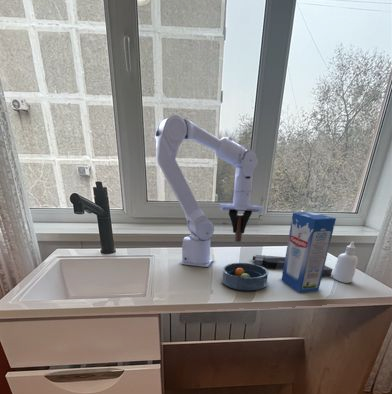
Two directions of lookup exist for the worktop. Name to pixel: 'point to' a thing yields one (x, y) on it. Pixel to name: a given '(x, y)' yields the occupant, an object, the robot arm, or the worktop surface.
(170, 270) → the worktop surface
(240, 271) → the bead
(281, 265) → the pistol
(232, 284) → the bowl
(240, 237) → the stirring stick
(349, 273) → the eye dropper bottle
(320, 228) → the milk carton
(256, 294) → the worktop surface
